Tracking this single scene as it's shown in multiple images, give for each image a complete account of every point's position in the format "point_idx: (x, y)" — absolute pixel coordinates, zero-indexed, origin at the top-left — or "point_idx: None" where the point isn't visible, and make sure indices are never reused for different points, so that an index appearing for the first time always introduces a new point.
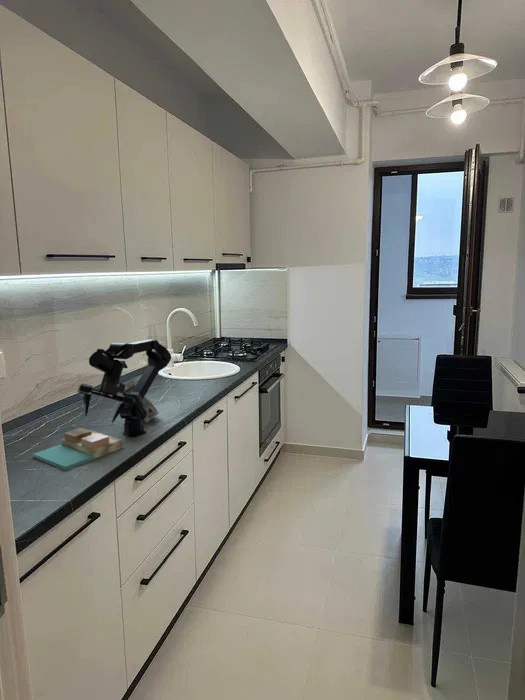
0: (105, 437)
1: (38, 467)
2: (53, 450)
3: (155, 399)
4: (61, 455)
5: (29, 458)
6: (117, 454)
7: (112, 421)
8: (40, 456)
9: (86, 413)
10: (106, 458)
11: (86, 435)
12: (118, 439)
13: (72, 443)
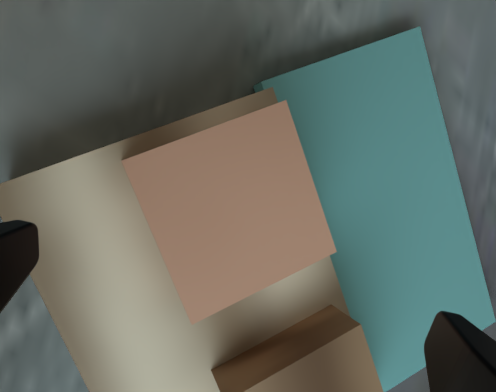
0: (157, 153)
1: (485, 164)
2: (416, 321)
3: None
4: (400, 215)
5: (493, 308)
6: (86, 73)
7: (27, 224)
8: (478, 262)
9: (465, 331)
10: (175, 52)
11: (261, 364)
12: (18, 212)
13: (346, 312)
